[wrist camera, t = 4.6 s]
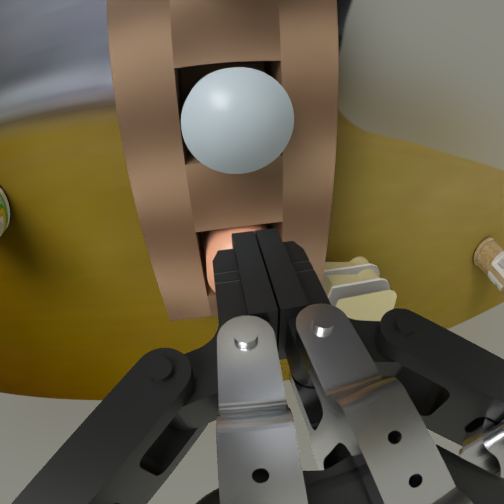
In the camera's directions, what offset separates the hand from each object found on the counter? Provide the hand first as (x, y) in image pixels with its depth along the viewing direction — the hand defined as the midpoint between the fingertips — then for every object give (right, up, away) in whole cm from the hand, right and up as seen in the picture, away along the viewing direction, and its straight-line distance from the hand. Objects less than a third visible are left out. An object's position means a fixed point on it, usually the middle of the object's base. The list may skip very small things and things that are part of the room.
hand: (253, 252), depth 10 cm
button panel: (-2, +10, +7) cm, 12 cm away
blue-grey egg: (-1, +8, +4) cm, 9 cm away
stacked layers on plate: (+9, -2, +18) cm, 20 cm away
